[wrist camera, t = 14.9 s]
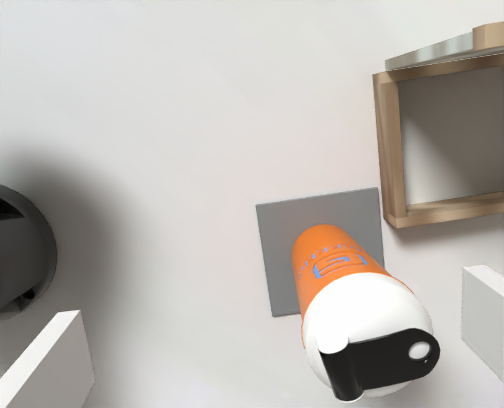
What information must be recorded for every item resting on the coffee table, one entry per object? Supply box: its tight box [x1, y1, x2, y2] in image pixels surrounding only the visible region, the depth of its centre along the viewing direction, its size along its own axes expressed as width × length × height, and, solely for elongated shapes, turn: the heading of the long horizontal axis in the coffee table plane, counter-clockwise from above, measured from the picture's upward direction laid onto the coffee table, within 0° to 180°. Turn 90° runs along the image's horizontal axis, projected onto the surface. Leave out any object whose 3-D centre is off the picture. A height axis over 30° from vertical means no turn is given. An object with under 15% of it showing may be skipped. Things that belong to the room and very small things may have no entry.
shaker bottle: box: [291, 224, 440, 403], centre depth 36 cm, size 9×9×20 cm
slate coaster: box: [256, 187, 384, 316], centre depth 46 cm, size 13×13×1 cm
